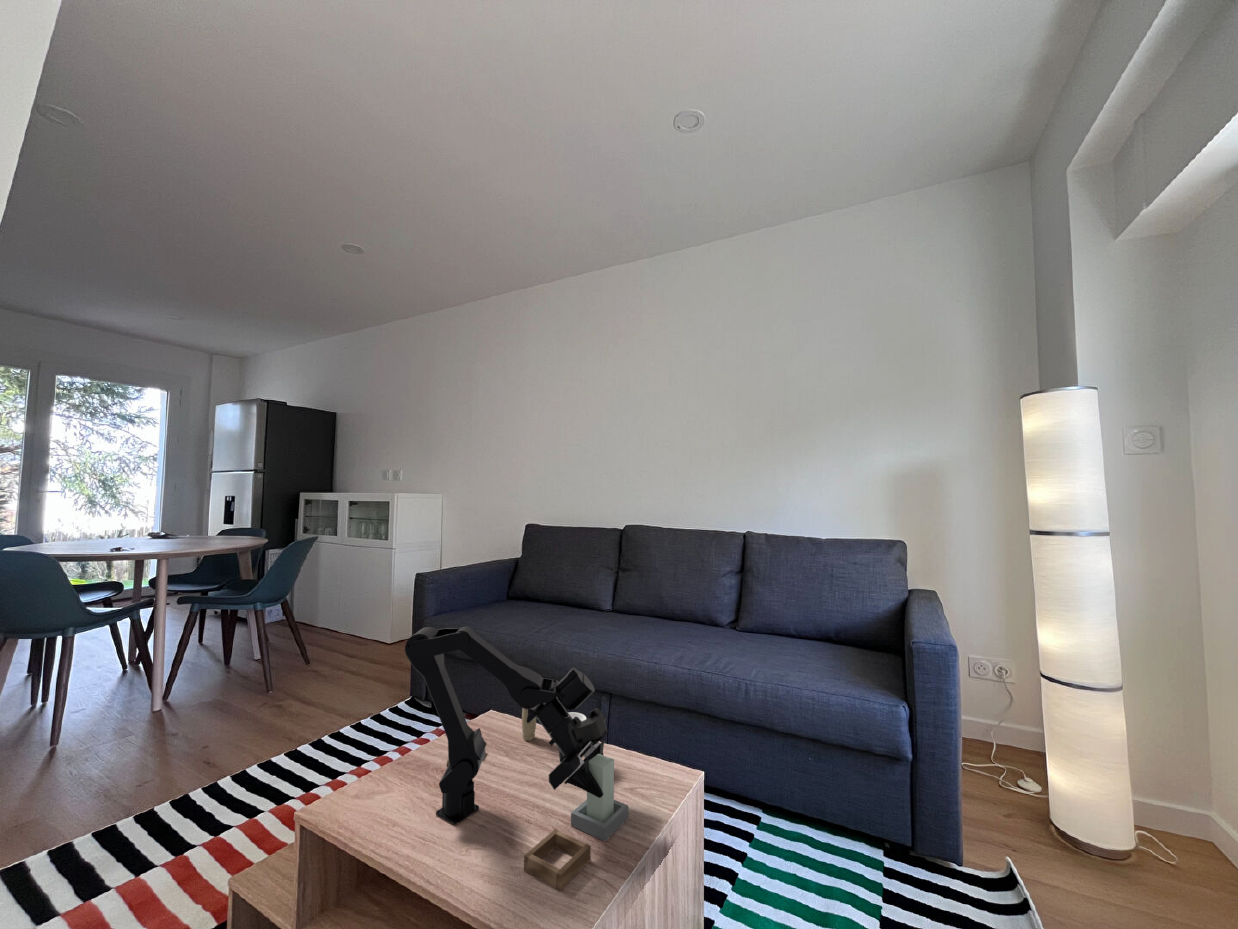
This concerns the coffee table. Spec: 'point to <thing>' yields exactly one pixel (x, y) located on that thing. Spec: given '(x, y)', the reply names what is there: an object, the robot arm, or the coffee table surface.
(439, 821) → the coffee table surface
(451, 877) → the coffee table surface
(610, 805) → the peg
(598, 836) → the socket
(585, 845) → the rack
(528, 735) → the handle
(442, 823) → the coffee table surface
